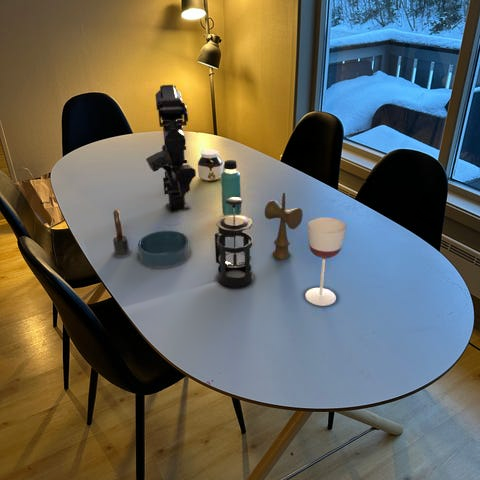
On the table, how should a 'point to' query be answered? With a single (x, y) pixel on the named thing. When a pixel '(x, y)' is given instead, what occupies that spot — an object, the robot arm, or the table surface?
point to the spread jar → (210, 166)
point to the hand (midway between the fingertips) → (177, 191)
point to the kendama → (283, 225)
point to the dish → (163, 248)
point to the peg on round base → (119, 237)
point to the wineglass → (324, 252)
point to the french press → (233, 256)
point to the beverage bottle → (230, 187)
